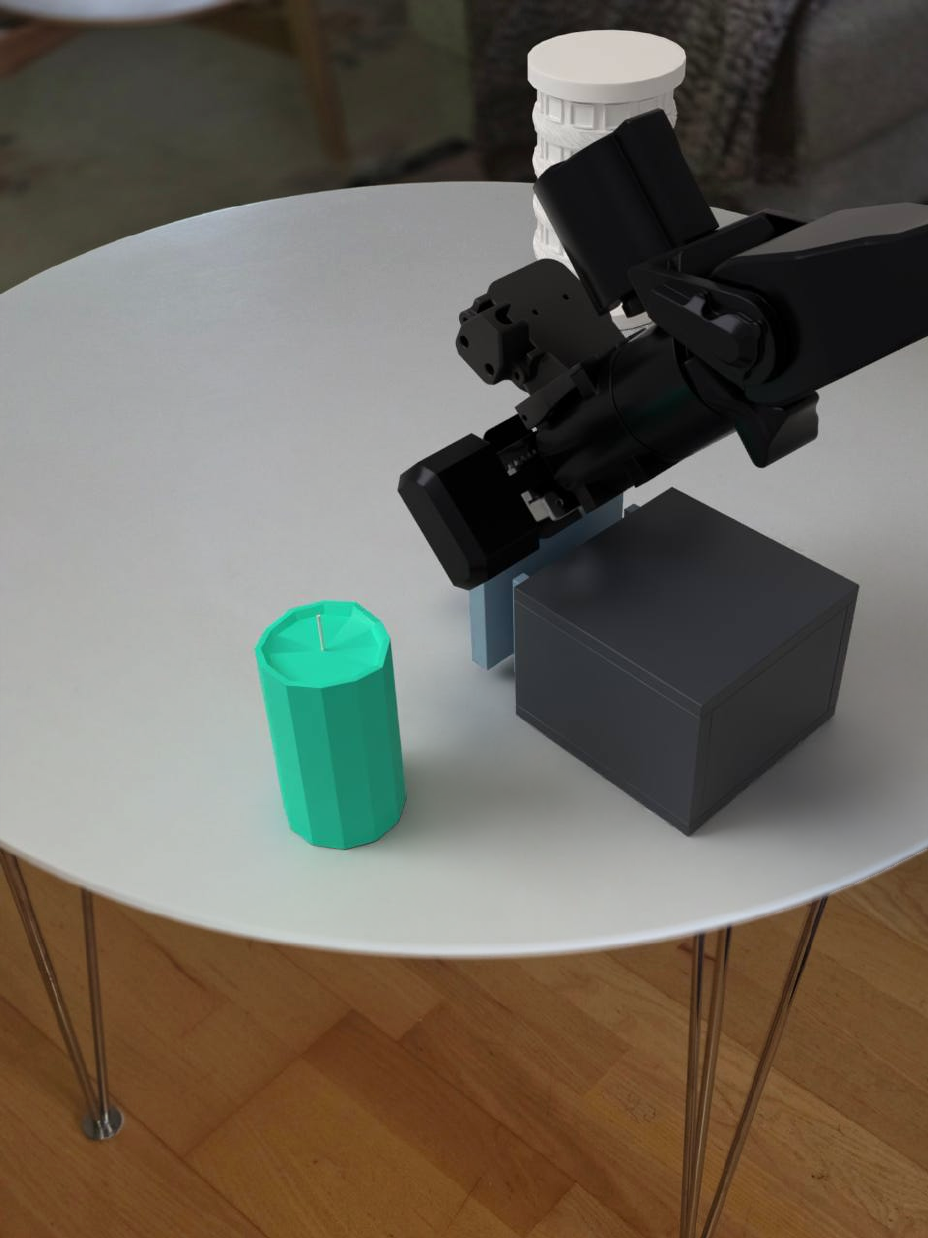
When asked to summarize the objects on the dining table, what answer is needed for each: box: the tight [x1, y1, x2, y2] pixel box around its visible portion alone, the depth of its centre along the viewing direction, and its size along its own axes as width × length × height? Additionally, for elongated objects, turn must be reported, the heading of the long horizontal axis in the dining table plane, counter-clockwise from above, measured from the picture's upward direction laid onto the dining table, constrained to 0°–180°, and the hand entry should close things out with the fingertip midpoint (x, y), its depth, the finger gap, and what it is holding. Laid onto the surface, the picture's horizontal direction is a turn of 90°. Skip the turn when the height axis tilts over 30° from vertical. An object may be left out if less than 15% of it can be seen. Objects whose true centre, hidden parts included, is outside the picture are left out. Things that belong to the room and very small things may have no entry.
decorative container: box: [527, 29, 687, 331], centre depth 100 cm, size 12×12×18 cm
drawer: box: [468, 492, 641, 673], centre depth 72 cm, size 16×10×7 cm, turn 43°
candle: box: [253, 599, 407, 850], centre depth 63 cm, size 6×6×12 cm
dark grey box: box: [514, 486, 860, 837], centre depth 68 cm, size 12×12×9 cm
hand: (496, 498), depth 73 cm, fingers closed
